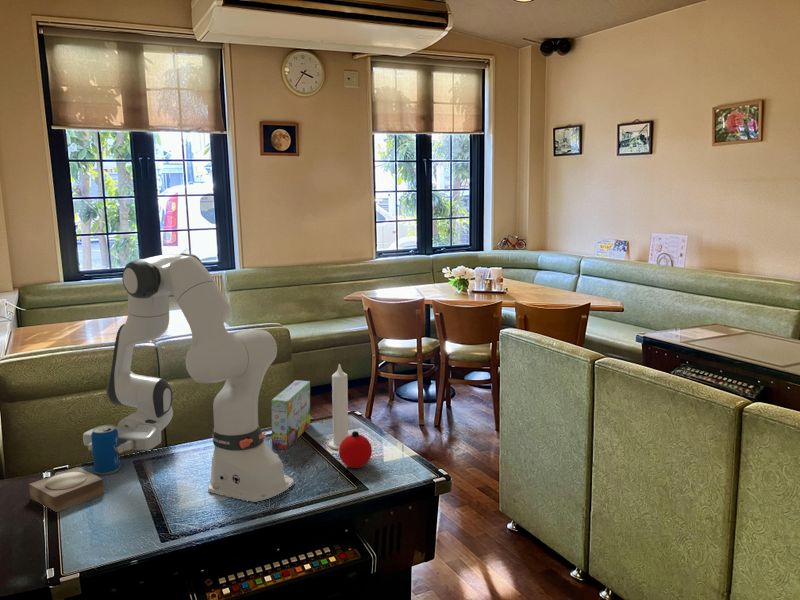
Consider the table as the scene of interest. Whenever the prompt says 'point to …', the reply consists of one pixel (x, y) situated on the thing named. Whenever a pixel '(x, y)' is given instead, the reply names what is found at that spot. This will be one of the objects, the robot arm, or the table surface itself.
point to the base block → (66, 489)
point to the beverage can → (105, 449)
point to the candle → (339, 408)
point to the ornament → (355, 450)
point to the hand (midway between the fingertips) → (103, 449)
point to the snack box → (290, 414)
